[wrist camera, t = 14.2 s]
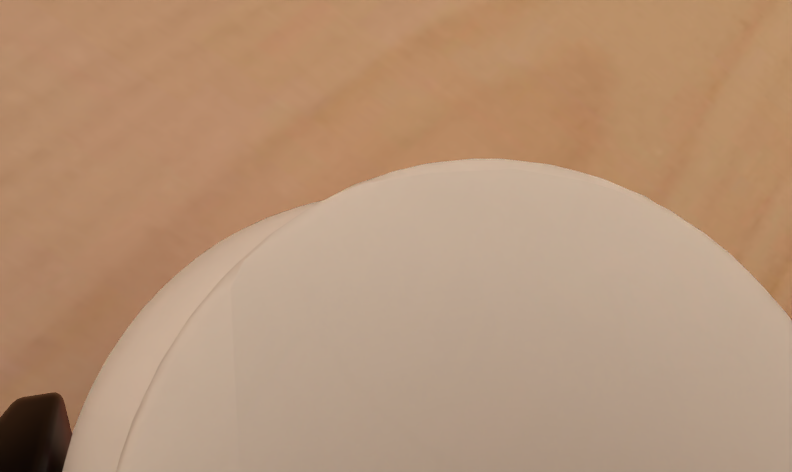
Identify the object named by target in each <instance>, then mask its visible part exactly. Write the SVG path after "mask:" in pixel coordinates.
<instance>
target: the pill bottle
mask: <svg viewBox="0 0 792 472" xmlns="http://www.w3.org/2000/svg"><path fill="white" fill-rule="evenodd" d="M62 472H792V320H791V319H790V317H789V316H788V315H787V313H786V312H785V311H784V310H783V309H782V307H781V306H780V305H779V304H778V303H777V302H776V301H775V300H774V298H773V297H772V296H771V295H770V294H769V293H768V292H767V290H766V289H765V288H764V287H763V286H762V285H761V284H760V283H759V282H758V281H757V280H756V279H755V278H754V277H753V276H752V275H751V274H750V273H749V272H748V271H747V270H746V269H745V268H744V267H743V266H742V265H741V264H740V263H739V262H738V261H737V260H736V259H735V258H734V257H733V256H732V255H731V254H730V253H729V252H727V251H726V250H725V249H724V248H722V247H721V246H720V245H719V244H717V243H716V242H715V241H714V240H712V239H711V238H710V237H709V236H708V235H706V234H705V233H704V232H702V231H700V230H699V229H697V228H696V227H694V226H693V225H691V224H689V223H688V222H686V221H685V220H683V219H682V218H681V217H679V216H678V215H676V214H675V213H674V212H672V211H670V210H668V209H666V208H664V207H662V206H661V205H659V204H657V203H655V202H653V201H652V200H650V199H649V198H647V197H646V196H644V195H641V194H638V193H636V192H633V191H631V190H628V189H626V188H624V187H621V186H619V185H617V184H614V183H612V182H610V181H607V180H605V179H603V178H599V177H596V176H593V175H589V174H586V173H582V172H579V171H575V170H571V169H566V168H562V167H558V166H554V165H550V164H543V163H534V162H526V161H518V160H509V159H464V160H455V161H445V162H435V163H427V164H422V165H418V166H414V167H410V168H406V169H401V170H397V171H393V172H390V173H387V174H384V175H381V176H378V177H376V178H373V179H370V180H367V181H363V182H360V183H357V184H354V185H352V186H350V187H348V188H346V189H344V190H342V191H340V192H339V193H337V194H335V195H333V196H331V197H329V198H327V199H325V200H323V201H319V202H315V203H310V204H306V205H302V206H299V207H296V208H293V209H290V210H287V211H285V212H282V213H279V214H276V215H273V216H270V217H267V218H265V219H263V220H261V221H259V222H257V223H255V224H252V225H250V226H248V227H246V228H244V229H242V230H240V231H238V232H236V233H234V234H232V235H231V236H229V237H227V238H225V239H223V240H221V241H220V242H218V243H217V244H215V245H214V246H212V247H211V248H209V249H208V250H206V251H205V252H204V253H202V254H201V255H200V256H198V257H197V258H196V259H194V260H193V261H192V262H190V263H189V264H188V265H187V266H186V267H184V268H183V269H182V270H181V271H180V272H179V273H178V274H176V275H175V276H174V277H173V278H172V279H171V280H170V281H169V282H168V283H166V284H165V285H164V286H163V287H162V288H161V289H160V290H159V292H158V293H157V294H156V295H155V296H154V297H153V298H152V299H151V300H150V301H149V302H148V303H147V304H146V305H145V306H144V307H143V308H142V309H141V311H140V312H139V313H138V315H137V316H136V317H135V319H134V320H133V321H132V322H131V324H130V325H129V326H128V328H127V329H126V330H125V332H124V333H123V335H122V336H121V338H120V339H119V341H118V342H117V344H116V345H115V347H114V348H113V349H112V351H111V352H110V354H109V355H108V357H107V359H106V361H105V363H104V364H103V366H102V368H101V370H100V372H99V374H98V375H97V377H96V379H95V381H94V383H93V385H92V387H91V389H90V391H89V393H88V396H87V398H86V400H85V402H84V404H83V406H82V409H81V412H80V414H79V417H78V419H77V422H76V425H75V427H74V430H73V433H72V437H71V441H70V444H69V448H68V452H67V455H66V459H65V463H64V466H63V470H62Z"/></svg>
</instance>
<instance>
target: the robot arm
mask: <svg viewBox="0 0 792 472" xmlns="http://www.w3.org/2000/svg"><path fill="white" fill-rule="evenodd" d="M71 437H72V432H71V428H70V424H69V420H68V416H67V411H66V407H65V403H64V400H63V398H62V397H61V395H59V394H58V393H47V394H41V395H34V396H28V397H22V398H19V399H17V400H16V401H14V402H13V403H12V404H11V405H10V406H9V408H8V409H7V410H6V411H5V412H4V414H3V415H2V416H1V417H0V472H62V470H63V466H64V463H65V459H66V455H67V452H68V448H69V444H70V441H71Z"/></svg>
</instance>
